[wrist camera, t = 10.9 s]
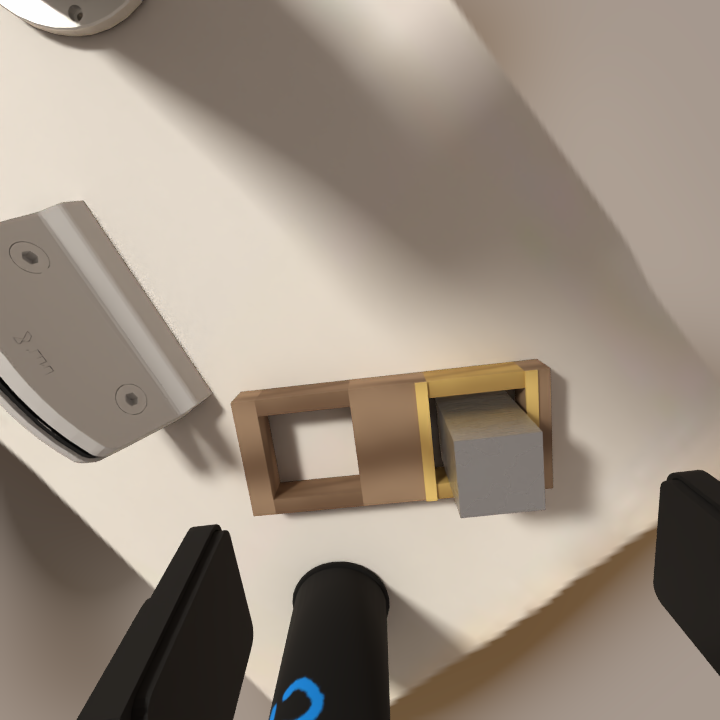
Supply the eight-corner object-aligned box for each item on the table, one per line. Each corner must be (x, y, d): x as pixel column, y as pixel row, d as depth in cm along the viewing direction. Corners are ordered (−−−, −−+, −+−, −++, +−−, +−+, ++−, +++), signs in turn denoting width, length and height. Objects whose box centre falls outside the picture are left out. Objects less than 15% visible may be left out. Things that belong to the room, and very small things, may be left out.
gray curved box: (215, 397, 34) (108, 480, 25) (177, 416, 36) (66, 498, 27) (79, 194, 30) (-99, 208, 22) (46, 229, 32) (-128, 254, 24)
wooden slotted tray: (240, 392, 33) (229, 404, 31) (537, 359, 32) (551, 368, 29) (262, 497, 36) (253, 517, 33) (540, 471, 34) (553, 489, 32)
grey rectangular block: (434, 396, 33) (453, 441, 25) (502, 388, 33) (542, 431, 25) (440, 457, 34) (460, 518, 26) (506, 450, 34) (545, 509, 26)
